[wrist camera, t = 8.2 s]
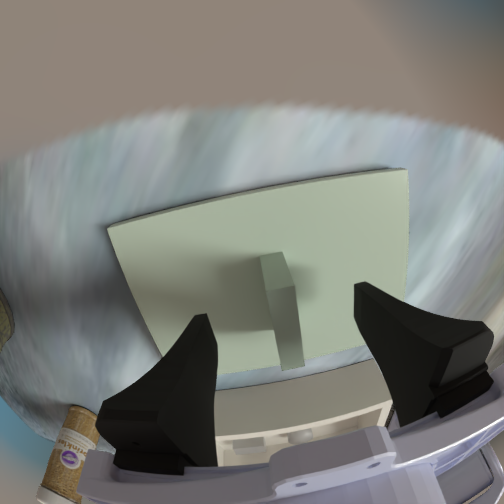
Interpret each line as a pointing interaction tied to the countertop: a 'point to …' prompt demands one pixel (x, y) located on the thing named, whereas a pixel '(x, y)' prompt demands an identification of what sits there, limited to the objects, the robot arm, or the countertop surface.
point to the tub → (297, 412)
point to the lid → (270, 265)
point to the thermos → (5, 321)
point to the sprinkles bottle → (69, 458)
